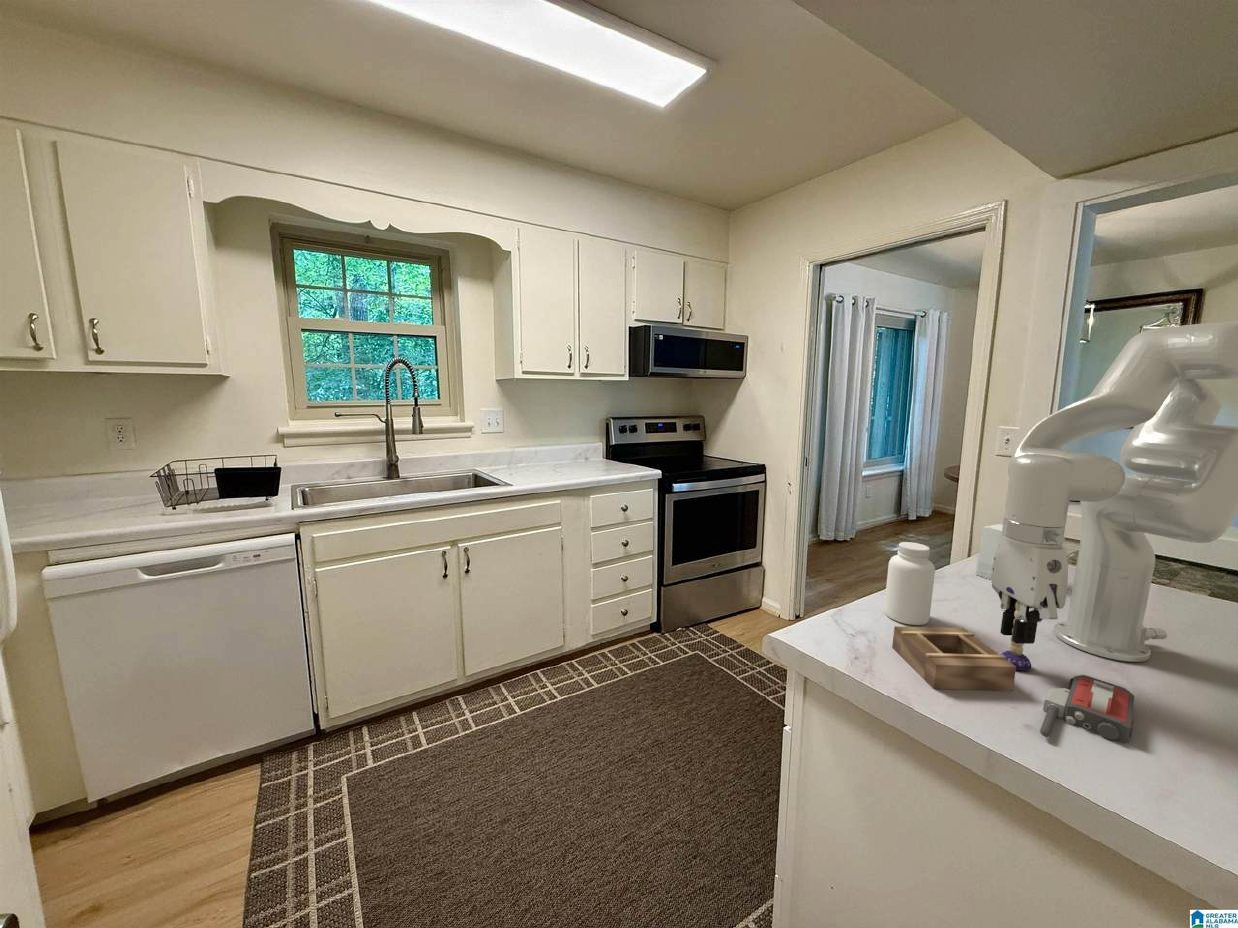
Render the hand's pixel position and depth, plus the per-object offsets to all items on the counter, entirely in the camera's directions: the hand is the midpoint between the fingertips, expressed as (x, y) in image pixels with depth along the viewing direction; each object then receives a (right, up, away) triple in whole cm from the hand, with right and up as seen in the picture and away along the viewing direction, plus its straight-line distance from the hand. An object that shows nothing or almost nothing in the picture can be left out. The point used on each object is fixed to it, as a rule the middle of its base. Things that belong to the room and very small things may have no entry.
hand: (1017, 637), depth 81 cm
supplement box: (+27, +1, +39) cm, 47 cm away
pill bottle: (-8, -2, +18) cm, 20 cm away
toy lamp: (0, -5, +1) cm, 5 cm away
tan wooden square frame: (-12, -5, 0) cm, 13 cm away
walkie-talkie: (-1, -8, -12) cm, 15 cm away
